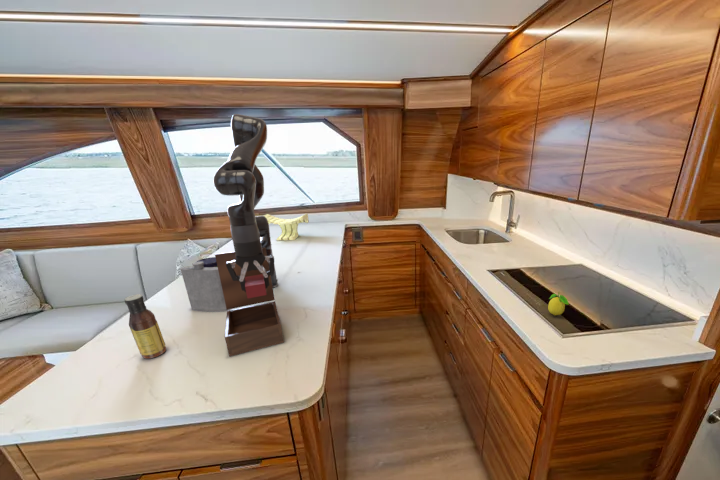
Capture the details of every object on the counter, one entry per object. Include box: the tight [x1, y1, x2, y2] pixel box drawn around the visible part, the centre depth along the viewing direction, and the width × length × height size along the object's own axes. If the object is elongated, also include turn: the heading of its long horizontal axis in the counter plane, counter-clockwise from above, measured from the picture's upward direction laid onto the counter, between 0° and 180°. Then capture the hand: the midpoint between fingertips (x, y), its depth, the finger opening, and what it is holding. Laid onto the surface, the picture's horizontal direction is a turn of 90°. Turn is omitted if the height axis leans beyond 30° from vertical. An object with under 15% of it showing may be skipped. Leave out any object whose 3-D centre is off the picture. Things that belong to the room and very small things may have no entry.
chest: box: [224, 300, 285, 357], centre depth 101 cm, size 19×16×7 cm
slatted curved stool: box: [263, 212, 310, 241], centre depth 227 cm, size 30×16×18 cm, turn 93°
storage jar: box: [196, 256, 217, 267], centre depth 134 cm, size 10×10×15 cm
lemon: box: [547, 292, 569, 317], centre depth 110 cm, size 7×6×10 cm
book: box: [245, 274, 267, 298], centre depth 96 cm, size 9×6×4 cm, turn 26°
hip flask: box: [180, 261, 230, 312], centre depth 117 cm, size 16×4×20 cm, turn 84°
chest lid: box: [214, 248, 276, 311], centre depth 107 cm, size 20×16×5 cm
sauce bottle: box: [123, 293, 167, 360], centre depth 89 cm, size 6×6×20 cm
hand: (256, 289), depth 96 cm, fingers closed on book, 5 cm apart
